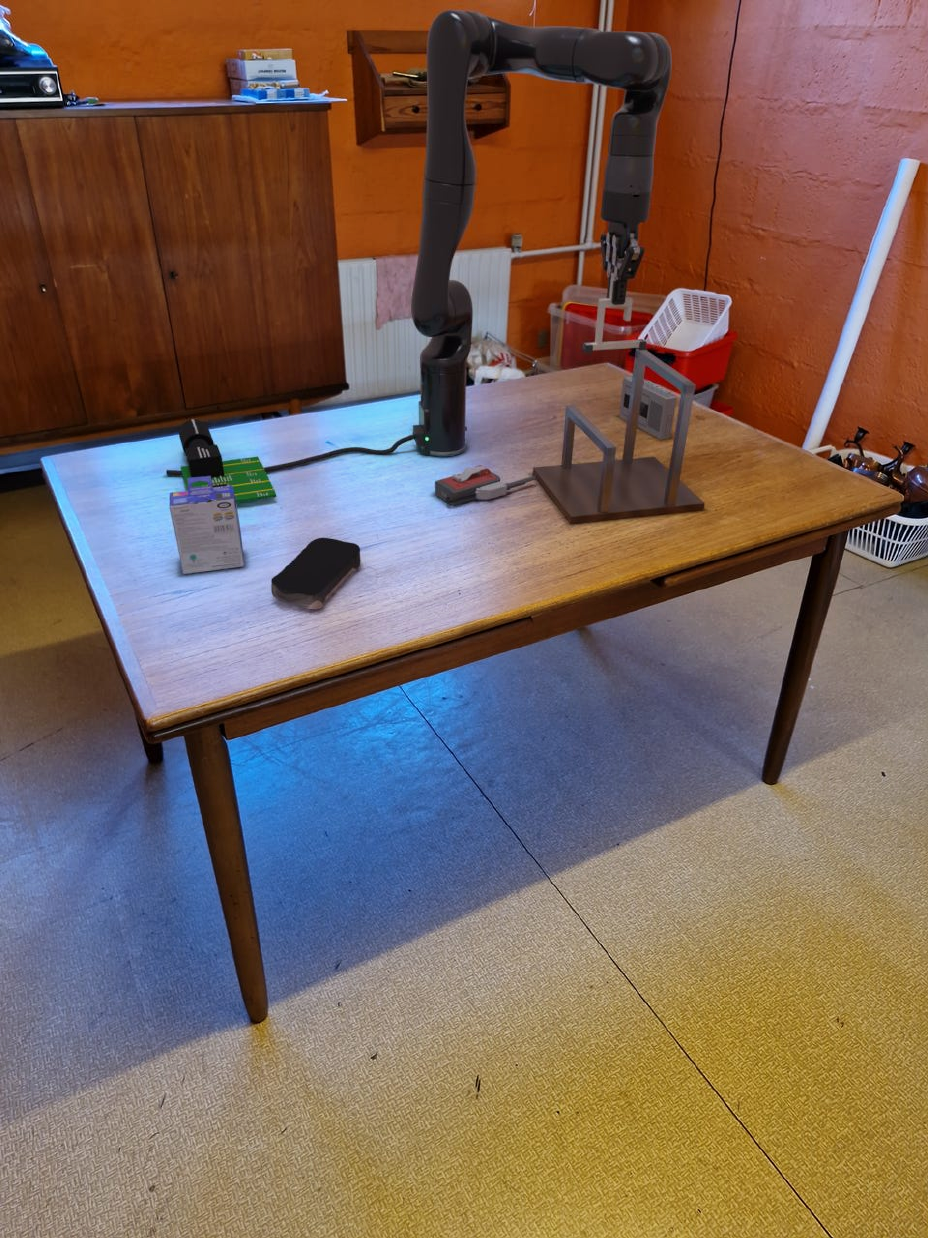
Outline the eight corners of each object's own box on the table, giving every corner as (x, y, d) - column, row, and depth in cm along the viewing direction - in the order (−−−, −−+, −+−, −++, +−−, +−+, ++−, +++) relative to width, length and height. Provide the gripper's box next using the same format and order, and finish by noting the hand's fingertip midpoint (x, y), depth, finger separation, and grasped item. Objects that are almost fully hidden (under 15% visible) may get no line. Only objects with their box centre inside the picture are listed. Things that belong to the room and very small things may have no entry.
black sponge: (319, 554, 141) (317, 534, 139) (365, 563, 138) (364, 544, 136) (267, 604, 128) (264, 583, 126) (317, 615, 126) (315, 594, 124)
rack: (570, 524, 151) (582, 393, 138) (532, 474, 169) (540, 353, 156) (703, 510, 156) (727, 382, 143) (653, 463, 174) (670, 345, 161)
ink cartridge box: (243, 551, 141) (231, 470, 133) (246, 567, 137) (233, 484, 129) (181, 558, 139) (165, 477, 131) (182, 575, 135) (165, 491, 127)
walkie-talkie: (454, 512, 154) (538, 486, 164) (454, 490, 152) (540, 465, 162) (427, 495, 160) (510, 470, 170) (427, 473, 158) (511, 450, 167)
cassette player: (618, 416, 197) (623, 373, 191) (628, 414, 198) (633, 371, 192) (660, 439, 185) (667, 394, 179) (670, 437, 186) (677, 392, 180)
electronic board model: (273, 468, 153) (186, 480, 148) (277, 502, 157) (193, 515, 152) (245, 412, 176) (169, 421, 171) (249, 444, 180) (175, 453, 175)
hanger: (585, 353, 145) (592, 275, 138) (581, 350, 146) (588, 273, 140) (645, 350, 147) (655, 272, 140) (641, 346, 149) (650, 270, 142)
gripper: (589, 182, 137) (580, 294, 147) (621, 193, 126) (609, 313, 136) (632, 181, 139) (621, 292, 149) (668, 192, 128) (653, 311, 137)
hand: (615, 302), depth 142 cm, fingers closed on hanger, 1 cm apart
